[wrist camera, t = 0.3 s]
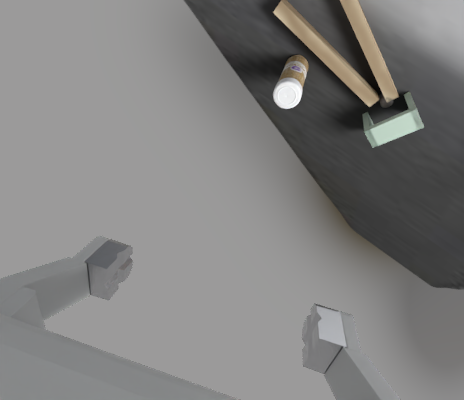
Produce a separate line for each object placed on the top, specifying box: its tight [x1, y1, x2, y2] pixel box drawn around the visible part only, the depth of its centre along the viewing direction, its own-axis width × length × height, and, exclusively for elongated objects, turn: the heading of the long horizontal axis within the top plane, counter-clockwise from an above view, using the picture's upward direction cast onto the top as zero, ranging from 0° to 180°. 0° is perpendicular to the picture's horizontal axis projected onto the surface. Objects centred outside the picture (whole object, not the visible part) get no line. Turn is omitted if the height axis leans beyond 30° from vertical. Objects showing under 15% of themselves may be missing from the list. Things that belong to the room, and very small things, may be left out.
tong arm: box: [273, 0, 379, 107], centre depth 47 cm, size 2×24×3 cm, turn 55°
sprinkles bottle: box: [273, 55, 308, 109], centre depth 47 cm, size 5×5×13 cm
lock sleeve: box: [362, 92, 424, 147], centre depth 50 cm, size 8×4×7 cm, turn 130°
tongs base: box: [340, 0, 399, 108], centre depth 44 cm, size 3×27×3 cm, turn 40°
